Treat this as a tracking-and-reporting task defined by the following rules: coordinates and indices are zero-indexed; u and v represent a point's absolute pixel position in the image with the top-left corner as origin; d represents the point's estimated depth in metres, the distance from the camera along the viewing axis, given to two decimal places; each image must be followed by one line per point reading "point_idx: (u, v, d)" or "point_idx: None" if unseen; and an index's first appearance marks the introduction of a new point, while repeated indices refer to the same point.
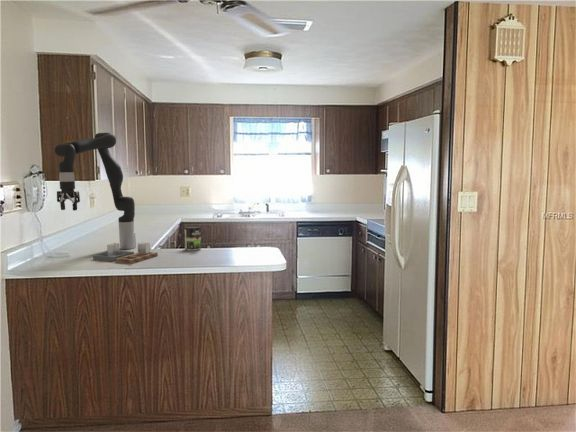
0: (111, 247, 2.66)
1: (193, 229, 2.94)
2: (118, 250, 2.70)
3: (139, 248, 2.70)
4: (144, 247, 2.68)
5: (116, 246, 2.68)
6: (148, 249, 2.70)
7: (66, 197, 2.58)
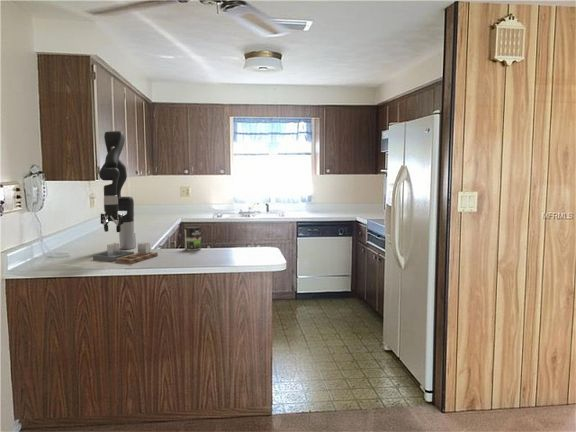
0: (111, 247, 2.66)
1: (193, 229, 2.94)
2: (118, 250, 2.70)
3: (139, 248, 2.70)
4: (144, 247, 2.68)
5: (116, 246, 2.68)
6: (148, 249, 2.70)
7: (110, 219, 2.66)
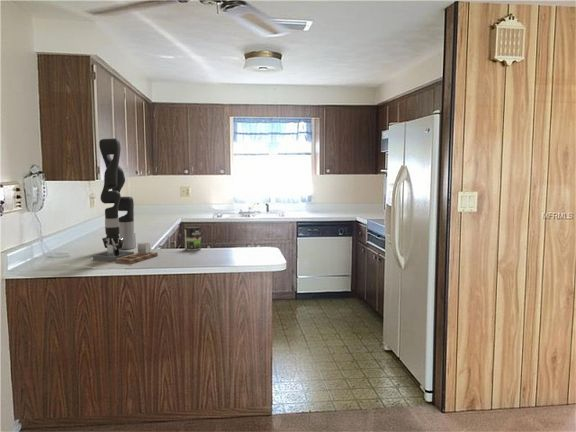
0: (111, 247, 2.66)
1: (193, 229, 2.94)
2: None
3: (139, 248, 2.70)
4: (144, 247, 2.68)
5: None
6: (148, 249, 2.70)
7: (111, 242, 2.68)
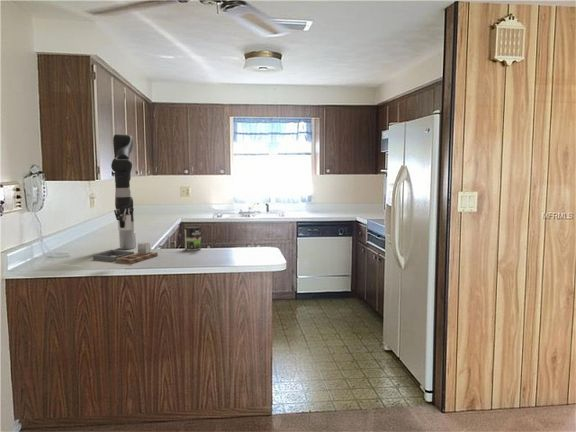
0: None
1: (193, 229, 2.94)
2: (125, 222, 2.56)
3: (139, 248, 2.70)
4: (144, 247, 2.68)
5: None
6: (148, 249, 2.70)
7: None
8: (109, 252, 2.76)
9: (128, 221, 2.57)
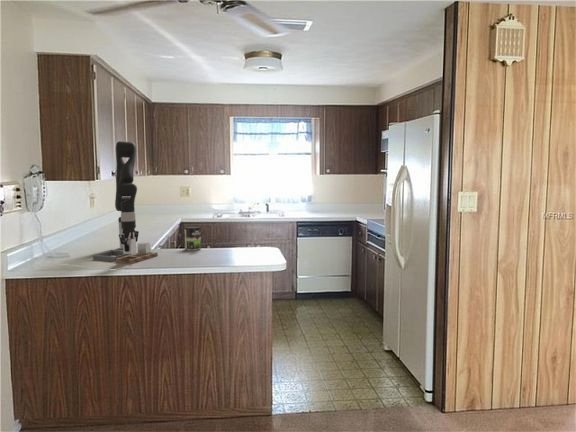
0: None
1: (193, 229, 2.94)
2: (129, 246, 2.57)
3: (139, 248, 2.70)
4: (144, 247, 2.68)
5: None
6: (148, 249, 2.70)
7: None
8: (109, 252, 2.76)
9: (133, 244, 2.58)
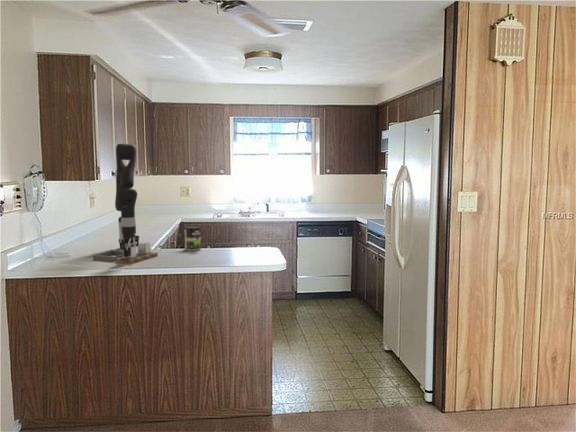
0: None
1: (193, 229, 2.94)
2: (130, 254, 2.58)
3: (139, 248, 2.70)
4: (144, 247, 2.68)
5: None
6: (148, 249, 2.70)
7: None
8: (109, 252, 2.76)
9: (134, 252, 2.59)
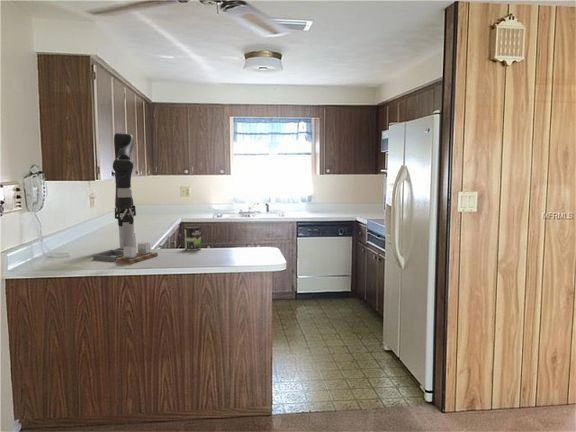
0: None
1: (193, 229, 2.94)
2: (130, 254, 2.58)
3: (139, 248, 2.70)
4: (144, 247, 2.68)
5: (127, 249, 2.58)
6: (148, 249, 2.70)
7: None
8: (109, 252, 2.76)
9: (134, 252, 2.59)
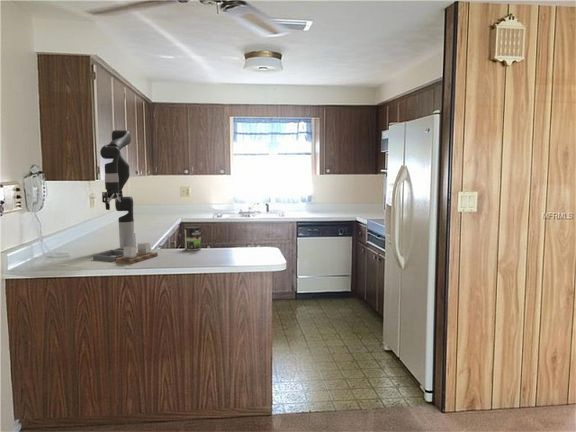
0: None
1: (193, 229, 2.94)
2: (130, 254, 2.58)
3: (139, 248, 2.70)
4: (144, 247, 2.68)
5: (127, 249, 2.58)
6: (148, 249, 2.70)
7: None
8: (109, 252, 2.76)
9: (134, 252, 2.59)
